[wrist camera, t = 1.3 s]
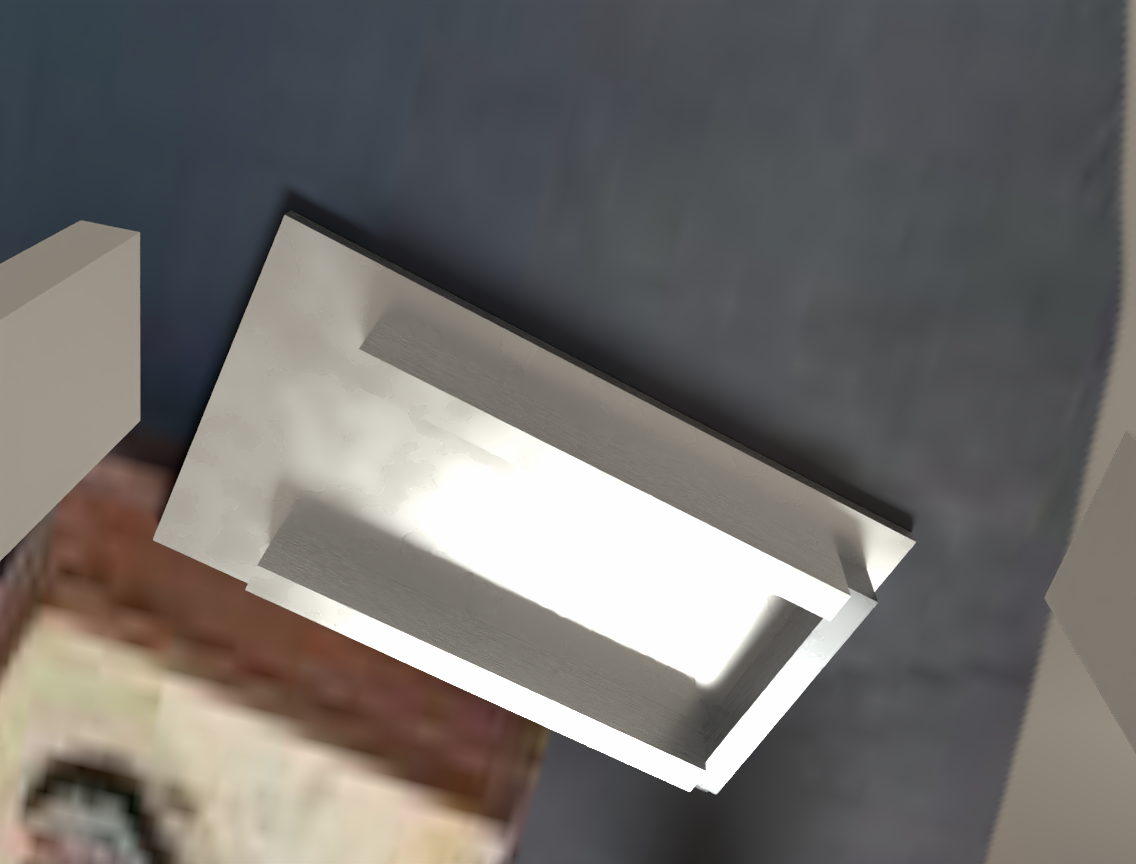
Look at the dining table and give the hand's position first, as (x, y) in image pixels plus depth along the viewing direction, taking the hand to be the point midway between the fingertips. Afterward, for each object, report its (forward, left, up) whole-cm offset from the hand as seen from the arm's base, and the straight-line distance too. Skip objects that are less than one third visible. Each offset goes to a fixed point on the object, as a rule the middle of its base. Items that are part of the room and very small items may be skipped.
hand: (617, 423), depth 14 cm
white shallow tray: (+3, -14, -20) cm, 25 cm away
